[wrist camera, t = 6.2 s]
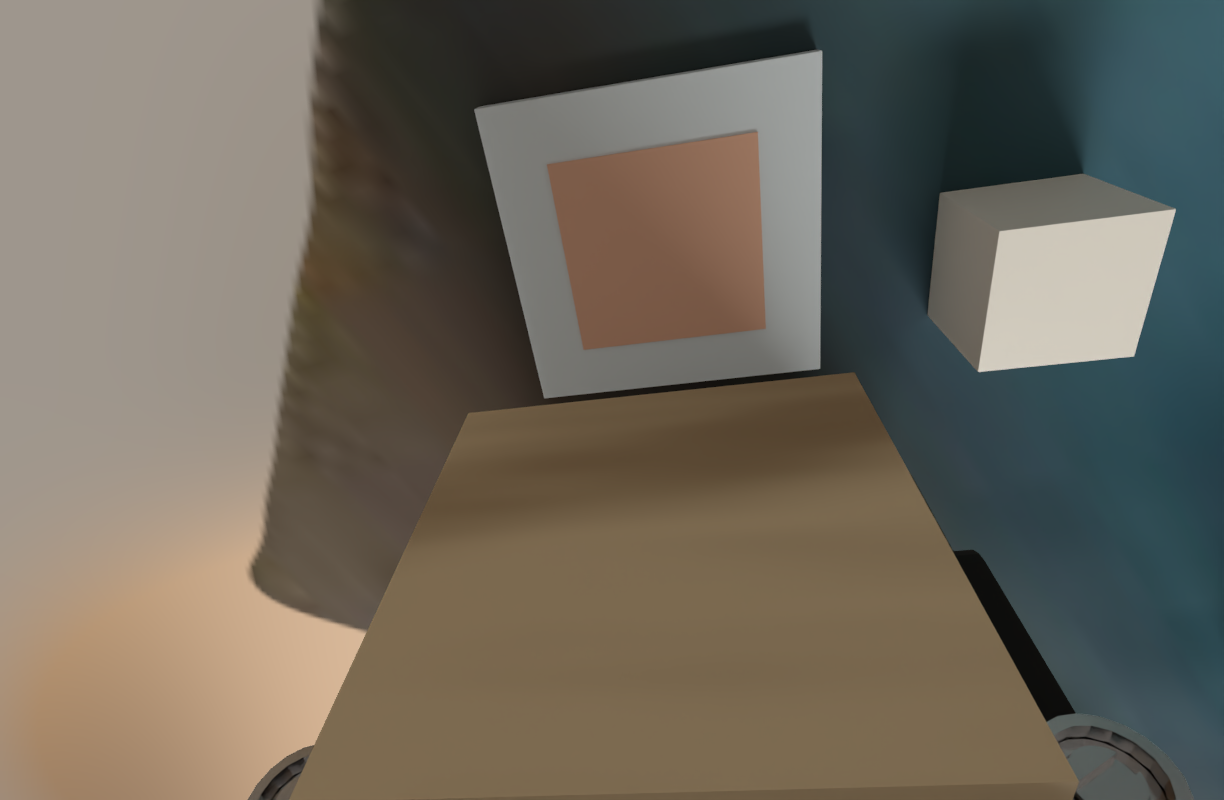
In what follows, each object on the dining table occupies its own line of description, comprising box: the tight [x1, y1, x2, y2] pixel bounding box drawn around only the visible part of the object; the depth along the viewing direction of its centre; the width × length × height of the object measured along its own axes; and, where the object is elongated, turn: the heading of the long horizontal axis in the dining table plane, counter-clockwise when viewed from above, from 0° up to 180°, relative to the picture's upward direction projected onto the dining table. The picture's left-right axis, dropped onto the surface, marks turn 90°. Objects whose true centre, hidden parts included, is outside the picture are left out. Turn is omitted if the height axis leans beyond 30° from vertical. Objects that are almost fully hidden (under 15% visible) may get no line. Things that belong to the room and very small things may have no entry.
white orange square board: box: [474, 50, 822, 398], centre depth 26 cm, size 12×12×1 cm
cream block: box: [927, 174, 1176, 372], centre depth 23 cm, size 5×5×5 cm
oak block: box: [289, 372, 1079, 800], centre depth 9 cm, size 6×6×6 cm
